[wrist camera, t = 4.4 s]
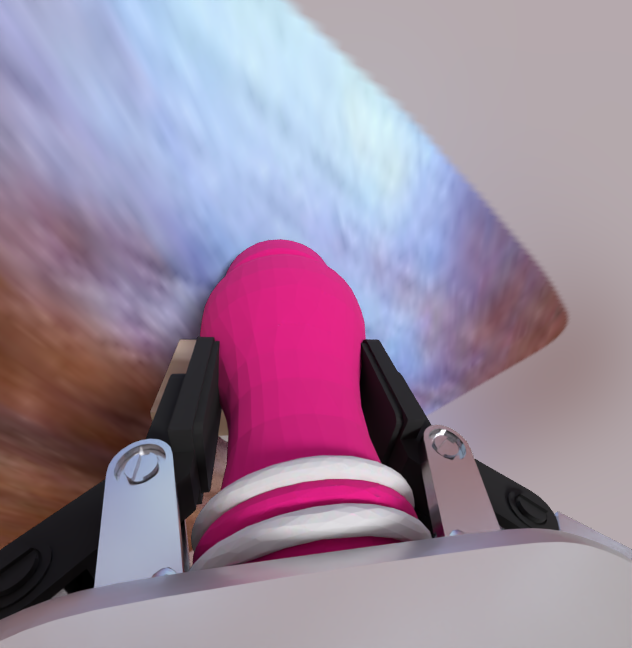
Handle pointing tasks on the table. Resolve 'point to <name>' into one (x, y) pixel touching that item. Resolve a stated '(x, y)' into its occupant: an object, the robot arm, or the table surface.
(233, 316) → the pepper mill
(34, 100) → the table surface
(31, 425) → the table surface
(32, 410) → the table surface
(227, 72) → the table surface
